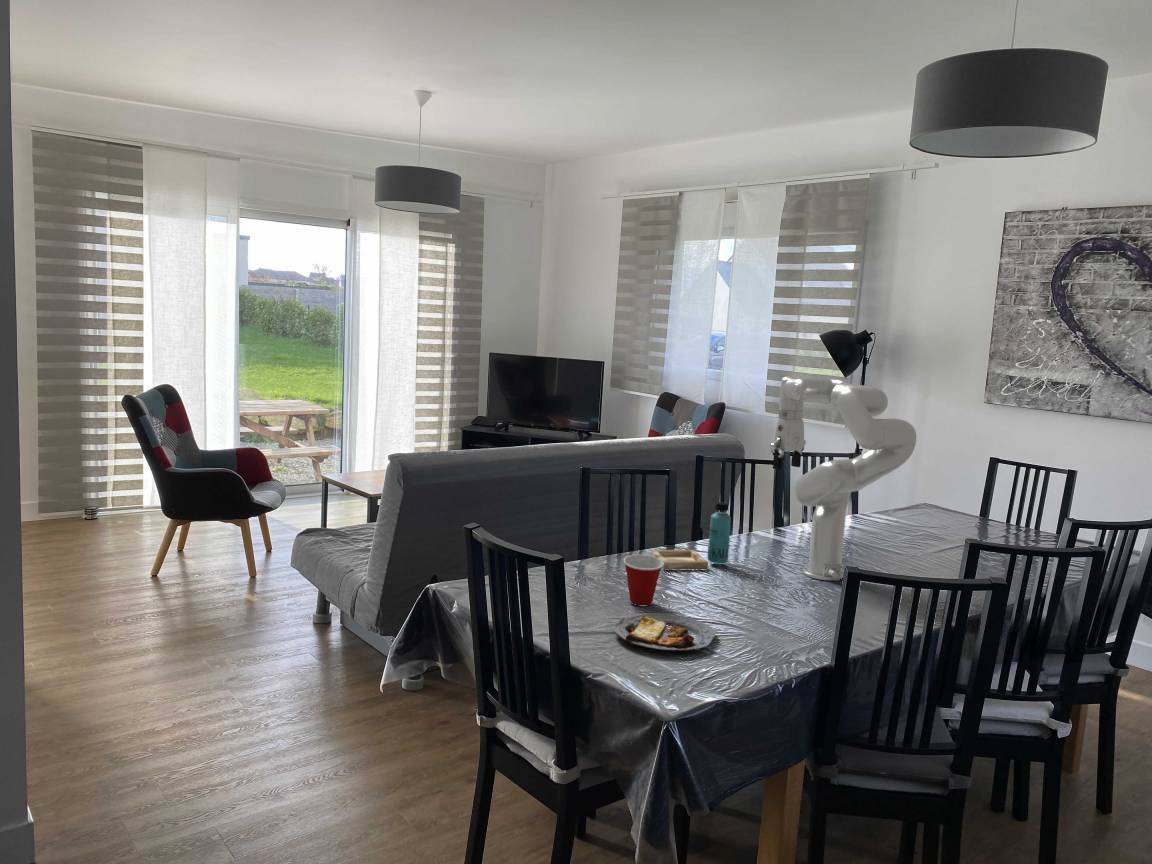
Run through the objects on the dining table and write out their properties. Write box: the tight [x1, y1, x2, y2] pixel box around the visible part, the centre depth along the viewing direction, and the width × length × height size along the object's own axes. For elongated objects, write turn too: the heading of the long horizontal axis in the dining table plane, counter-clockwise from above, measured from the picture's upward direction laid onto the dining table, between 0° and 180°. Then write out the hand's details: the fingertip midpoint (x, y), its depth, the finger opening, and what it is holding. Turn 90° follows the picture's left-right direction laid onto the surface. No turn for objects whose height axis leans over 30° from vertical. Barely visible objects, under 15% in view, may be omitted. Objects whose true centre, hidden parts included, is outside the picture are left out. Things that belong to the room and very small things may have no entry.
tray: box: [650, 549, 709, 570], centre depth 278 cm, size 14×14×2 cm
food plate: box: [613, 612, 718, 653], centre depth 214 cm, size 25×23×4 cm
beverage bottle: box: [707, 501, 732, 564], centre depth 277 cm, size 6×7×20 cm
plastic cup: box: [623, 554, 664, 606], centre depth 238 cm, size 11×11×12 cm
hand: (786, 467), depth 287 cm, fingers open, 9 cm apart
